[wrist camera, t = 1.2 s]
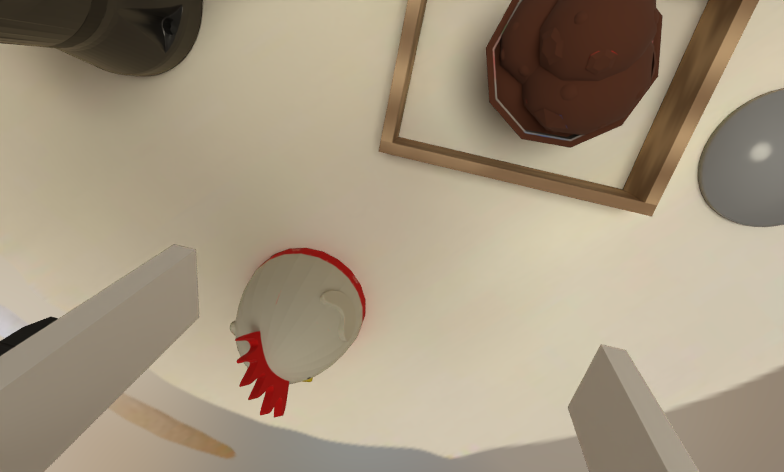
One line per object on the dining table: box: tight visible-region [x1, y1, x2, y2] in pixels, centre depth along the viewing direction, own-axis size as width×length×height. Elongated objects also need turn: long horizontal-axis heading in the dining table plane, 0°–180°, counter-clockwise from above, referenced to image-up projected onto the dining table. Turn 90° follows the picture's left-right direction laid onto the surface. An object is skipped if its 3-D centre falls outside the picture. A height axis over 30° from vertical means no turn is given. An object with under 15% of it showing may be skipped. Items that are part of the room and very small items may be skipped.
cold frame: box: [379, 0, 759, 216], centre depth 31 cm, size 19×24×6 cm
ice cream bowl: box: [486, 0, 662, 148], centre depth 27 cm, size 11×11×15 cm
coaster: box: [698, 88, 784, 227], centre depth 33 cm, size 12×12×1 cm
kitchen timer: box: [230, 248, 365, 417], centre depth 39 cm, size 14×14×15 cm
